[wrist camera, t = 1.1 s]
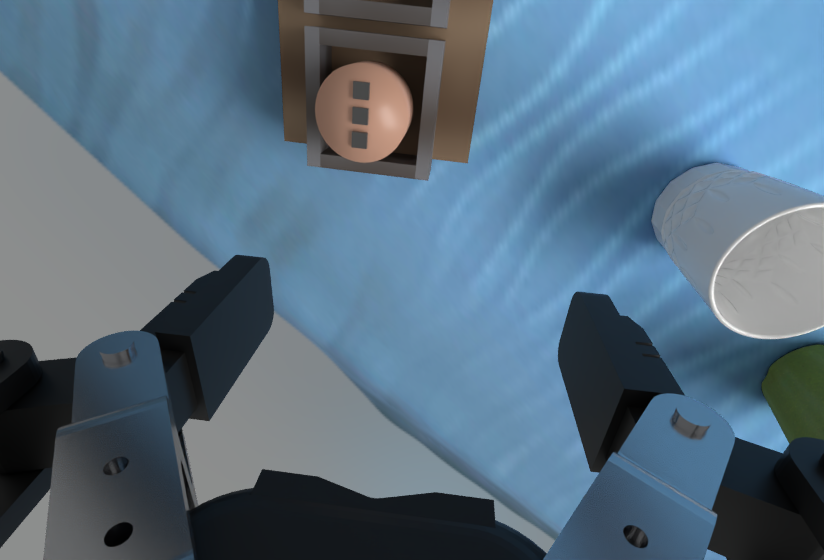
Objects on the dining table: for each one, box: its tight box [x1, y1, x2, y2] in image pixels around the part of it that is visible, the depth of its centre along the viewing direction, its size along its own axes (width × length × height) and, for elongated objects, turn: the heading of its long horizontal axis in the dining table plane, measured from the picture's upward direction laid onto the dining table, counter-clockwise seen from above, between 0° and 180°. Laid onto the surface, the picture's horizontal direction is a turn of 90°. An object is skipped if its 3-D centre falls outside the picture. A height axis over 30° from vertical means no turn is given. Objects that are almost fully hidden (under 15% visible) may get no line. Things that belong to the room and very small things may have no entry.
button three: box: [315, 60, 413, 163], centre depth 24 cm, size 5×5×3 cm
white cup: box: [651, 163, 824, 339], centre depth 27 cm, size 8×8×10 cm
